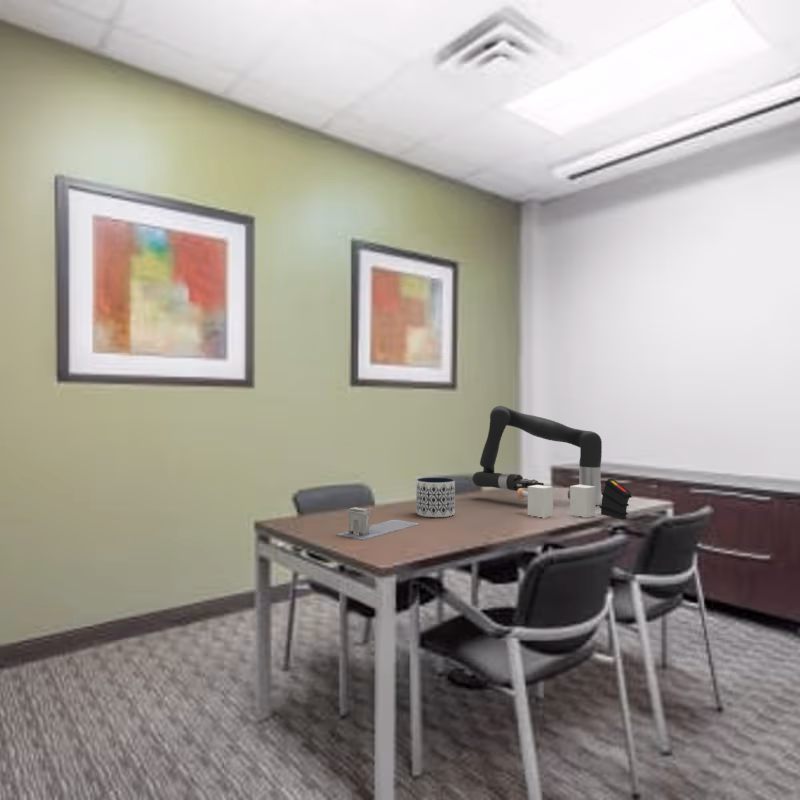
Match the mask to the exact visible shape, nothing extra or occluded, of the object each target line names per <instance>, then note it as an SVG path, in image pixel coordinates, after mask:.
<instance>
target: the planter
mask: <svg viewBox="0 0 800 800" xmlns="http://www.w3.org/2000/svg"><path fill="white" fill-rule="evenodd" d="M455 483H456V480H455V479H453V478H451V477H450V478H448V477H441V476H439V477H431V476H430V477H420V478H417V479H416V507H415V508H416V510H415V511H416V512H415V513H416V514H417V515H418V516H420V517H425V518H430V517H435V519H437V517H438V518H439V517H444V518H449V516H450V517H453V516H454V515H455V514H456V513H455V512H456V508H455V507H456V503H455V502H456V484H455ZM452 515H453V516H452Z"/></svg>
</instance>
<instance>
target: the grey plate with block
mask: <svg viewBox="0 0 800 800" xmlns="http://www.w3.org/2000/svg"><path fill="white" fill-rule="evenodd" d="M347 513H348V514H349V515H348V516H349V517H348V518H349V520H348V522H349V523H348V524H349V525H348V526H349V528H348V530H347V531H344V532H340V533H337V534H336V536H339V537H344V538H349V539H354V540H358V541H359V540H360V541H367V540H369V539H373V538H376V537H380V536H381V537H382V536H384V535H388V534H391V533H394V532H398V531H402V530H404V529H405V530H406V529H408V528H412V526H413V527H416V526H419V524H420V525H421V523H419V522H413V521H408V520H401V519H390V520H386V521H383V522H379V523H375V524H371V525H370V514H372V512H371V511H370V509H369V508H362V507H356V506H354V507H350V508H349V509H348V510H347ZM415 525H416V526H415Z"/></svg>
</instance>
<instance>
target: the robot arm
mask: <svg viewBox="0 0 800 800" xmlns="http://www.w3.org/2000/svg"><path fill="white" fill-rule="evenodd" d="M507 426H509V427H514V428H517V429H520V430H521V431H524V432H526V433H528V434H529V435H531V436H534V437H537V438H540V439H543V440H546V441H547V440H548V441H553V442H557V443H559V442H560V443H566V444H569V445H572V446H575V447H578V448H579V449H580V450H579V451H580V455H579V457H580V458H579V467H578V468H579V469H578V470H579V473H578V474H579V481H578V482H579V484H578V485H587V486H595V507H596V505H597V506H600V505H601V502H602V494H601V493H602V483H601V479H602V478H601V475H602V474H601V471H602V470H601V465H602V464H601V463H602V457H603V456H602V453H603V451H602V448H603V447H602V446H603V445H602V444H603V442H602V437H601V436H600V435H599V434H598V433H597V432H595V431H592V430H583V429H578V428H574V427H573V428H572V427H570V426H567V425H565V424H563V423H560V422H559V421H555V420H552V419H548V418H544V417H540V416H537V415H533V414H527V413H526V414H525V413H522V412H519V411H517V410H514V409H511V408H508V407H506V406H503V405H497V406H495V407H493V409H491V412H490V414H489V426H488V428H489V429H488V434H487V438H486V441H485V443H484V447H483V449H482V452H481V457H480V459H479V460H480V461H479V466H481V468H483V471H477V472H475V473H474V474H472V478H471V479H472V484H474V485H475V486H477V487H480V488H494V489H503V490H507V491H514V492H517V490H518V489H519V488H523V489H528V486H533V485H543V486H545V484H544V482H539V481H538V480H536V479H528V478H523V476H522V475H521V474H517V473H506V472H505V473H504V472H503V473H500V472H495V465H496V462H497V458H498V454H499V448H500V443H501V440H502V438H503V437H502V436H503V433H504V432H505V429H506V427H507Z"/></svg>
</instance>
